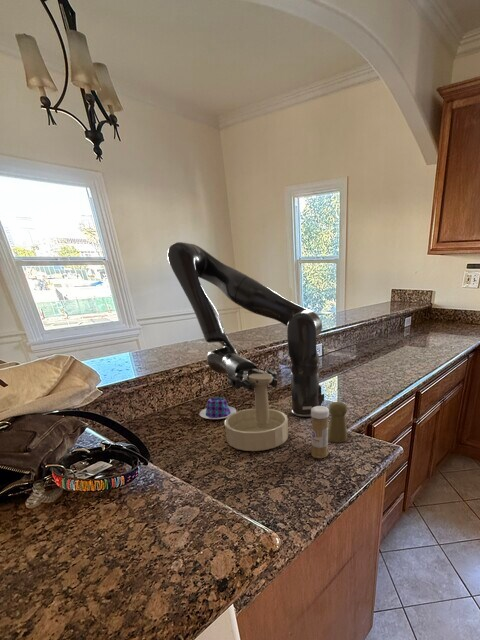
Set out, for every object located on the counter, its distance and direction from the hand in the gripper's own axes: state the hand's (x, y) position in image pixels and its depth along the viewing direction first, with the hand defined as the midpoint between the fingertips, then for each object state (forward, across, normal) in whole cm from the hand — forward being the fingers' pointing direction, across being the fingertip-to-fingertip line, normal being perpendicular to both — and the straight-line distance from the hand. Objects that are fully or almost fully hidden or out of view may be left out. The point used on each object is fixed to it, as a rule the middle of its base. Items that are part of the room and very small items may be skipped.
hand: (264, 385), depth 95 cm
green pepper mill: (+10, +18, +17) cm, 26 cm away
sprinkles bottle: (+15, +8, +17) cm, 24 cm away
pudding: (-27, -6, +17) cm, 32 cm away
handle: (-2, 0, +13) cm, 13 cm away
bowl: (-3, -2, +17) cm, 17 cm away
